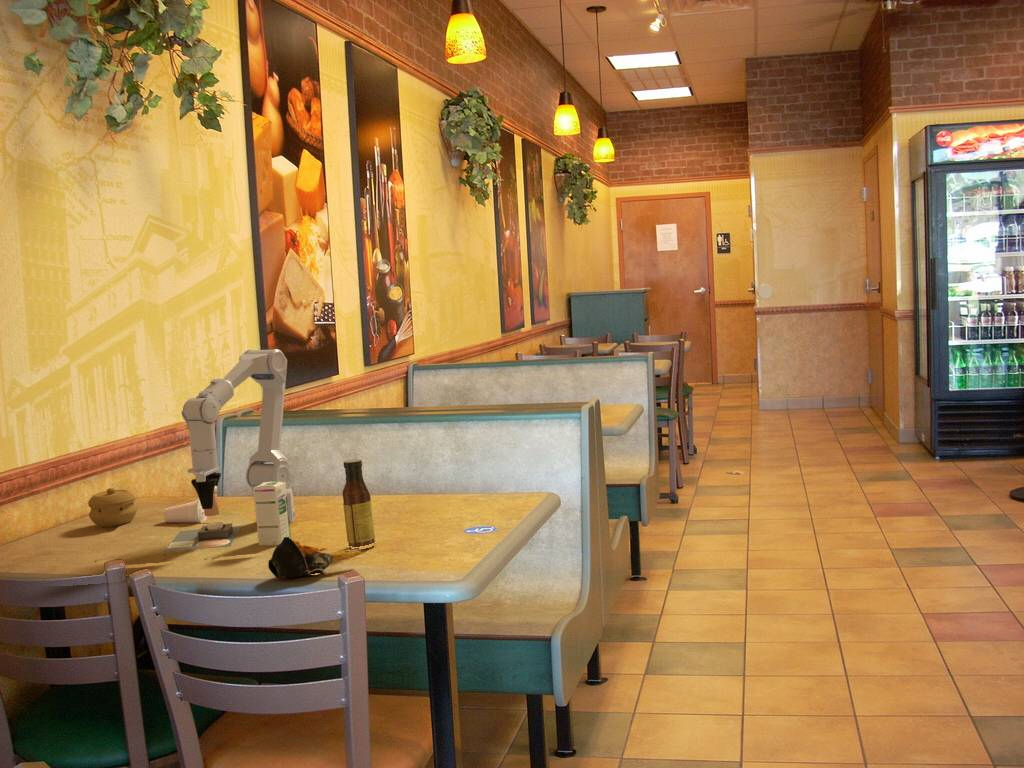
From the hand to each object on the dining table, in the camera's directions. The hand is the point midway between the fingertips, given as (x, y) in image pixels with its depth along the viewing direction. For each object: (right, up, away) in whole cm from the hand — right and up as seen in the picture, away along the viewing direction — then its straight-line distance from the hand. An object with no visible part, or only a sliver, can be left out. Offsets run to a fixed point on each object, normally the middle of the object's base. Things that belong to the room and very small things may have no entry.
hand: (208, 507), depth 247 cm
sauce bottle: (+37, -8, -8) cm, 38 cm away
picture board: (-3, -9, +7) cm, 11 cm away
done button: (-1, -7, +8) cm, 10 cm away
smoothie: (-19, -5, +27) cm, 33 cm away
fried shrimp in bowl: (+30, -11, -28) cm, 42 cm away
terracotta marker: (+1, -2, 0) cm, 2 cm away
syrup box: (+16, -9, -1) cm, 18 cm away
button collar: (0, -9, +8) cm, 12 cm away
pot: (-33, -9, +30) cm, 46 cm away
